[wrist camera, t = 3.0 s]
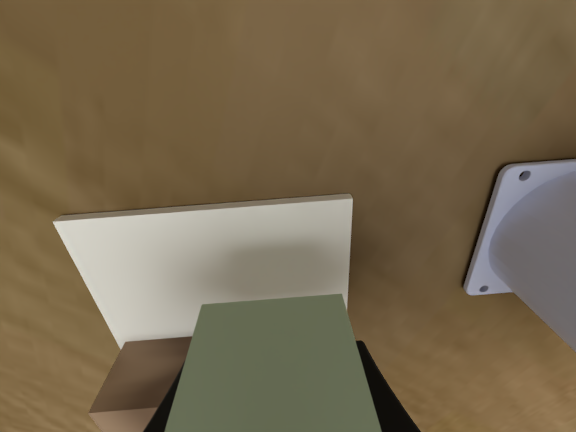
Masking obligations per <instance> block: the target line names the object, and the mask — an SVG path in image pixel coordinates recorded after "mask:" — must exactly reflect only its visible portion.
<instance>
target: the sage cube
mask: <svg viewBox="0 0 576 432" xmlns="http://www.w3.org/2000/svg"><path fill="white" fill-rule="evenodd" d="M165 432H382V431H381V428H380V424H379V421H378V417H377V414H376V410H375V407H374V403H373V400H372V396H371V393H370V389H369V386H368V383H367V379H366V376H365V372H364V369H363V365H362V362H361V358H360V355H359V351H358V348H357V344H356V341H355V337H354V334H353V330H352V327H351V323H350V320H349V317H348V313H347V310H346V306H345V303H344V299H343V296H342V294H330V295H317V296H304V297H291V298H278V299H265V300H252V301H239V302H226V303H213V304H202V306H201V309H200V312H199V316H198V319H197V323H196V326H195V329H194V333H193V336H192V340H191V343H190V346H189V350H188V353H187V357H186V360H185V363H184V367H183V370H182V374H181V377H180V380H179V384H178V387H177V391H176V394H175V398H174V401H173V404H172V408H171V411H170V415H169V418H168V421H167V425H166V428H165Z"/></svg>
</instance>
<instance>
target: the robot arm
mask: <svg viewBox="0 0 576 432" xmlns="http://www.w3.org/2000/svg"><path fill="white" fill-rule="evenodd" d="M523 171H524V173H523V175H522V176H520V174H521V173H522V172H523ZM519 176H520V177H519ZM463 288H464V290H465V291H466V293H467V294H469V295H483V294H495V293H507V292H514V293H515V294H516V295H517V296H518V297H519V298H520V299H521V300H522V301H523V302H524V303H525V304H526V305H527V306H528V307H529V308H531V309H532V310H533V311H534V312H535V313H536V314H537V315H538V316H539V317H540V318H541V319H542V320H543V321H544V322H545V323H546V324H547V325H548V326H549V327H550V328H551V329H552V330H553V331H554V332H555V333H556V334H557V335H558V336H559V337H560V338H561V339H562V340H564V341H565V342H566V343H567V344H568V345H569V346H570V347H571V348H572V349H573V350H574V351H575V352H576V159H569V160H556V161H543V162H530V163H517V164H509V165H507V166H505V167H504V168H503V169H502V170H501V171H500V173H499V174H498V177H497V181H496V184H495V187H494V190H493V193H492V197H491V200H490V203H489V206H488V209H487V213H486V216H485V219H484V222H483V225H482V229H481V232H480V235H479V238H478V241H477V245H476V248H475V251H474V254H473V257H472V261H471V264H470V267H469V270H468V273H467V277H466V280H465V283H464V287H463ZM356 344H357V348H358V351H359V355H360V358H361V362H362V365H363V369H364V372H365V376H366V379H367V383H368V386H369V389H370V393H371V396H372V400H373V403H374V407H375V410H376V414H377V417H378V421H379V424H380V428H381V431H382V432H421V431H420V430H419V429H418V427H417V426H416V425H415V423H414V422H413V420H412V419H411V418H410V416H409V415H408V413H407V412H406V411H405V409H404V408H403V406H402V405H401V403H400V402H399V400H398V399H397V397H396V396H395V394H394V393H393V391H392V390H391V388H390V387H389V385H388V384H387V382H386V380H385V379H384V377H383V376H382V374H381V372H380V371H379V369H378V367H377V366H376V364H375V362H374V360H373V359H372V357H371V355H370V353H369V351H368V349H367V348H366V346H365V344H364V342H363V341H356ZM185 360H186V359H185ZM184 363H185V361H184ZM184 363H183V365H182V367H181V369H180V371H179V372H178V374H177V376H176V378H175V380H174V381H173V383H172V385H171V387H170V388H169V390H168V392H167V393H166V395H165V397H164V399H163V400H162V402H161V403H160V405H159V407H158V408H157V410H156V412H155V413H154V415H153V416H152V418H151V420H150V421H149V423H148V424H147V426H146V428H145V429H144V431H143V432H165V428H166V425H167V421H168V418H169V415H170V411H171V408H172V404H173V401H174V398H175V394H176V391H177V387H178V384H179V380H180V377H181V374H182V370H183V367H184Z"/></svg>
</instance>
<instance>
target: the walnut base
mask: <svg viewBox="0 0 576 432" xmlns="http://www.w3.org/2000/svg"><path fill="white" fill-rule="evenodd" d="M191 340H192V336H190V337H178V338H165V339H153V340H141V341H129V342H125V343H124V345H123V347H122V349H121V351H120V353H119V355H118V357H117V359H116V361H115V363H114V364H113V366H112V368H111V370H110V372H109V374H108V376H107V378H106V380H105V382H104V384H103V386H102V388H101V390H100V391H99V393H98V395H97V397H96V399H95V401H94V403H93V405H92V407H91V409H90V411H89V413H88V414H89V415H90V416H91V418H92V419H93V420H94V422H95V423H96V424H97V426H98V427H99V428H100V430H101V431H102V432H143V431H144V429H145V428H146V426H147V424H148V423H149V421H150V420H151V418H152V416H153V415H154V413H155V412H156V410H157V408H158V407H159V405H160V403H161V402H162V400H163V399H164V397H165V395H166V393H167V392H168V390H169V388H170V387H171V385H172V383H173V381H174V380H175V378H176V376H177V374H178V372H179V371H180V369H181V367H182V365H183V363H184V361H185V359H186V357H187V353H188V350H189V346H190V343H191Z"/></svg>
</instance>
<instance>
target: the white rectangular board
mask: <svg viewBox="0 0 576 432" xmlns="http://www.w3.org/2000/svg"><path fill="white" fill-rule="evenodd" d="M352 206H353V198H352V196H351V195H350V193H349V194H336V195H323V196H310V197H296V198H283V199H270V200H257V201H244V202H231V203H218V204H205V205H192V206H179V207H166V208H153V209H140V210H127V211H114V212H100V213H87V214H74V215H61V216H60V217H58V218H57V219H56V220H54V221H53V224H54V225H55V227H56V229H57V231H58V233H59V235H60V237H61V238H62V240H63V242H64V244H65V246H66V248H67V250H68V252H69V253H70V255H71V257H72V259H73V261H74V263H75V265H76V267H77V268H78V270H79V272H80V274H81V276H82V278H83V280H84V282H85V283H86V285H87V287H88V289H89V291H90V293H91V295H92V297H93V298H94V300H95V302H96V304H97V306H98V308H99V310H100V312H101V313H102V315H103V317H104V319H105V321H106V323H107V325H108V327H109V328H110V330H111V332H112V334H113V336H114V338H115V340H116V341H117V343H118V345H119V347H120V349H122V347H123V345H124V343H125V342H129V341H141V340H153V339H165V338H178V337H190V336H193V333H194V329H195V326H196V323H197V319H198V316H199V312H200V309H201V306H202V304H213V303H226V302H239V301H252V300H265V299H278V298H291V297H304V296H317V295H330V294H342V296H343V299H344V303H345V306H346V310H347V300H348V281H349V262H350V244H351V225H352Z"/></svg>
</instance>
